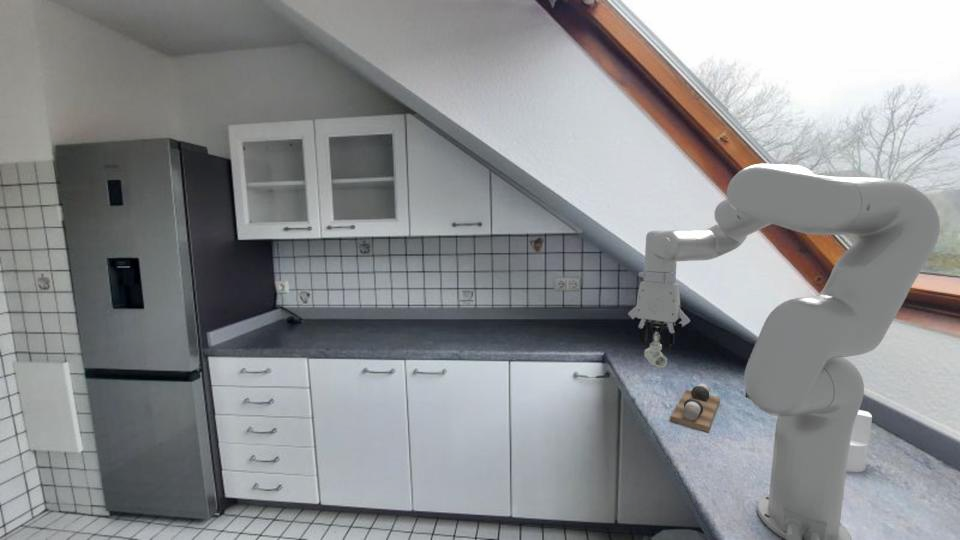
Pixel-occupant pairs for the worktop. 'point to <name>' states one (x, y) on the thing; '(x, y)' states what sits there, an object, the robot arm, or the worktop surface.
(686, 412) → the pipe board
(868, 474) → the worktop surface
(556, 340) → the worktop surface
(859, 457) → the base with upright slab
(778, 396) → the robot arm
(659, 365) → the valve
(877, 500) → the worktop surface
